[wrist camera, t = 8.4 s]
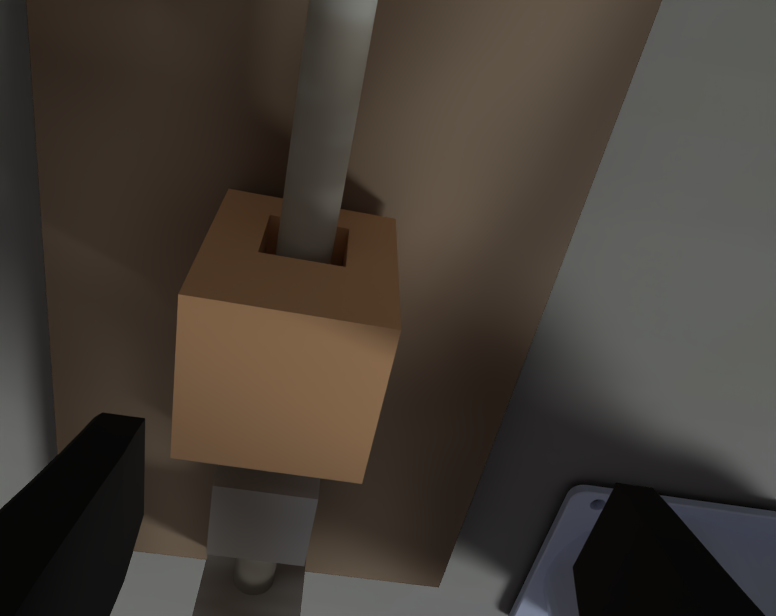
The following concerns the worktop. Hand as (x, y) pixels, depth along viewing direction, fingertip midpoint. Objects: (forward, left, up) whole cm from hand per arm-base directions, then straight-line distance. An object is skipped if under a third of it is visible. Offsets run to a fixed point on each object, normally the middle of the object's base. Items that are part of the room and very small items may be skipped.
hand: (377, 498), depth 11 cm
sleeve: (+2, +1, -8) cm, 8 cm away
